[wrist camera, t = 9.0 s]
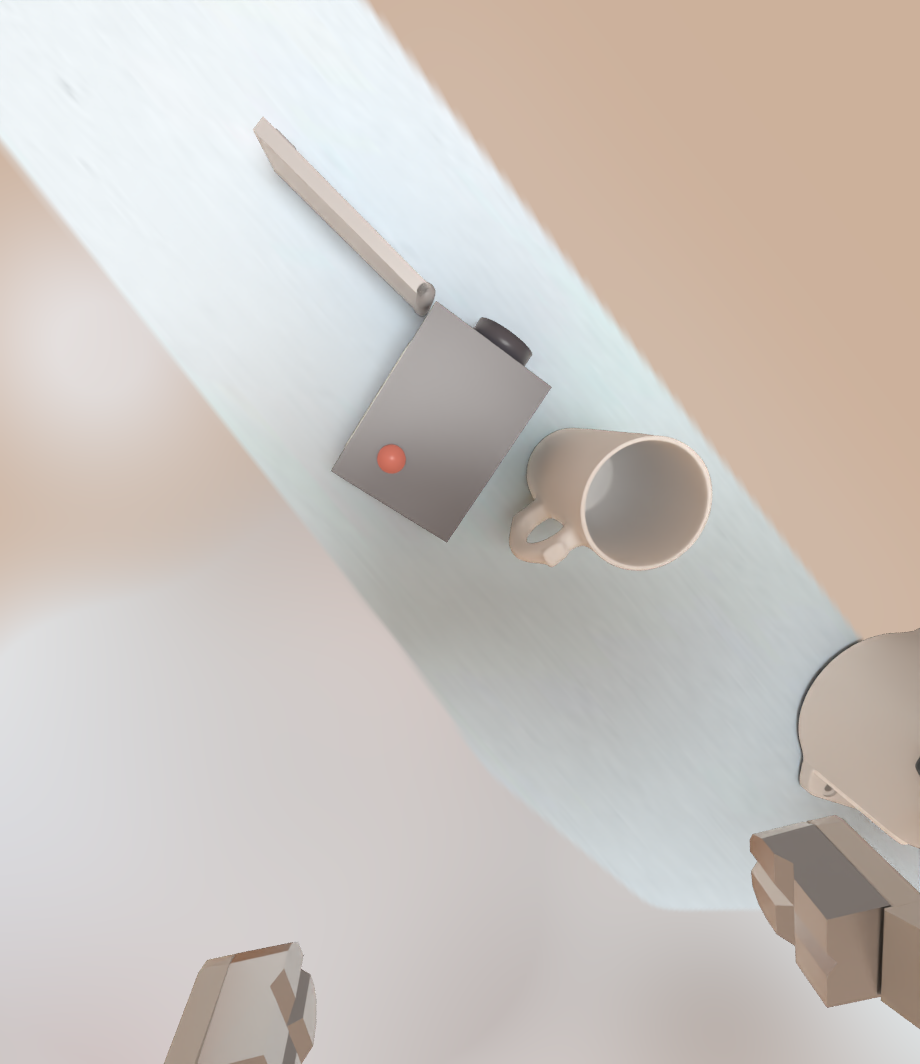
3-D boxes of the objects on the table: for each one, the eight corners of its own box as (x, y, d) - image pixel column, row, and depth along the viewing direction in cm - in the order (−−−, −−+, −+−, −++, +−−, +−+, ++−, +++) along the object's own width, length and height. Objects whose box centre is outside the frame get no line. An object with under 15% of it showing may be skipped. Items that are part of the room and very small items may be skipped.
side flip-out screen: (422, 319, 33) (426, 306, 28) (273, 172, 30) (251, 131, 25) (435, 304, 33) (441, 289, 28) (286, 156, 30) (266, 111, 25)
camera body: (539, 372, 35) (568, 367, 29) (439, 522, 36) (447, 545, 31) (439, 297, 33) (448, 275, 27) (339, 459, 35) (327, 471, 29)
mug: (585, 404, 36) (676, 407, 24) (630, 483, 37) (734, 521, 26) (465, 485, 36) (498, 526, 25) (515, 560, 38) (567, 630, 26)
